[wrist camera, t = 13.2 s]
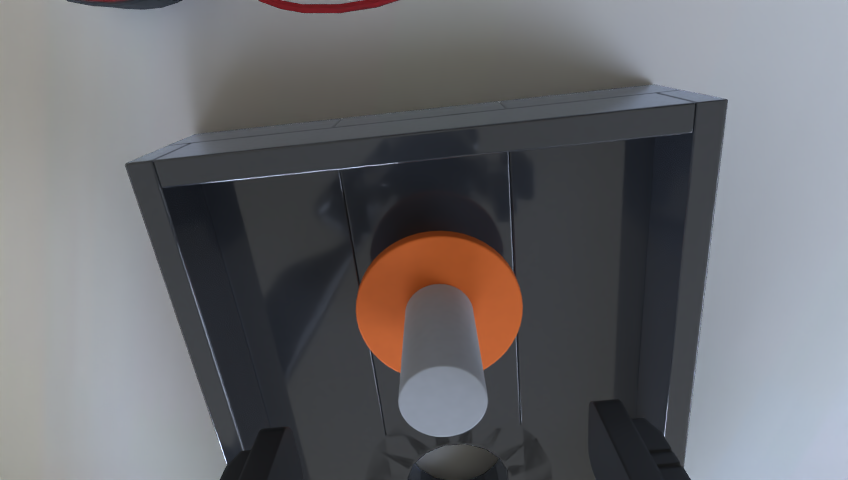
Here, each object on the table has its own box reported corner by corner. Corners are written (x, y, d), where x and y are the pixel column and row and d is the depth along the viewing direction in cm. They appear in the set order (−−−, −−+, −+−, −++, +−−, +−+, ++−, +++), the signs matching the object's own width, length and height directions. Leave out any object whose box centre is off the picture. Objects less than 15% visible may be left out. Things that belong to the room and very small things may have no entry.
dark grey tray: (298, 582, 29) (285, 640, 26) (166, 145, 20) (123, 163, 17) (642, 560, 28) (666, 617, 26) (684, 89, 19) (728, 98, 16)
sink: (308, 543, 32) (298, 582, 29) (193, 134, 22) (166, 145, 20) (626, 520, 31) (642, 560, 28) (655, 83, 21) (684, 89, 19)
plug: (375, 347, 23) (351, 491, 16) (353, 218, 21) (313, 317, 13) (514, 335, 23) (555, 476, 15) (507, 202, 20) (553, 295, 13)
